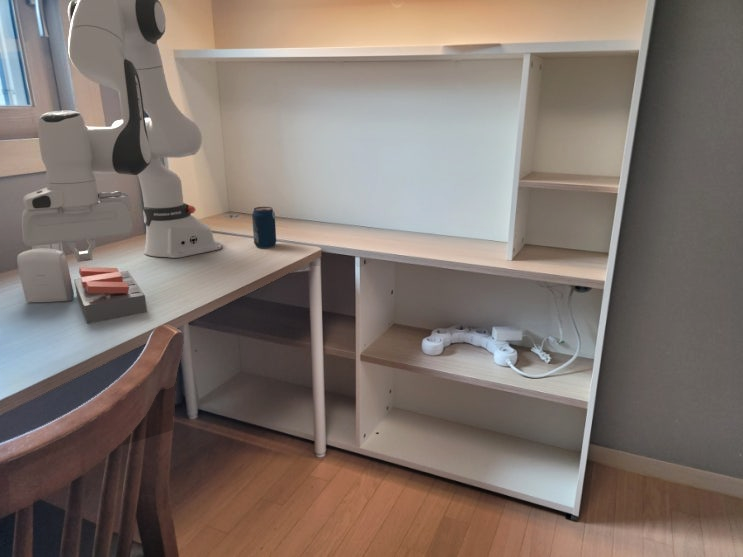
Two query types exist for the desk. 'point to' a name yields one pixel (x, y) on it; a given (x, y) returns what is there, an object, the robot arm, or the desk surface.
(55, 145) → the robot arm
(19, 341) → the desk surface
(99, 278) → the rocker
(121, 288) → the block
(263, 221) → the soda can
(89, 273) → the block
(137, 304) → the rocker switch panel
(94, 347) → the desk surface
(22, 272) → the photo printer
